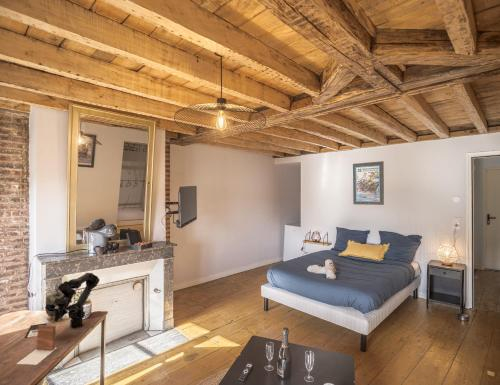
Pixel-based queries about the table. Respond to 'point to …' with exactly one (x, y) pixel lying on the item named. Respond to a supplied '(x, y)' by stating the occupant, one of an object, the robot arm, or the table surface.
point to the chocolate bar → (33, 330)
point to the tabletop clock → (51, 299)
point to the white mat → (35, 357)
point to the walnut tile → (46, 337)
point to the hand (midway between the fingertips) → (55, 321)
